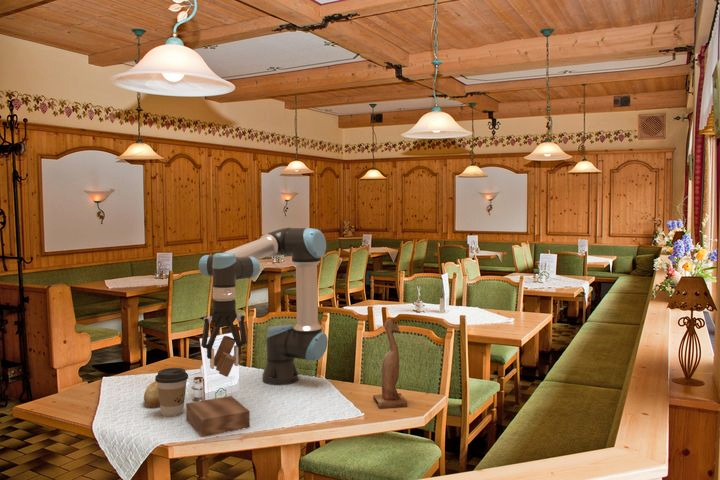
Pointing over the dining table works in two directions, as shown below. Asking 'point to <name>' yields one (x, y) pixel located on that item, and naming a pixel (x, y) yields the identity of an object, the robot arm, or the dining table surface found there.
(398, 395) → the bird sculpture
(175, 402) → the coffee cup
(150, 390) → the bread roll
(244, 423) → the walnut base block
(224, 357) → the wooden block set
